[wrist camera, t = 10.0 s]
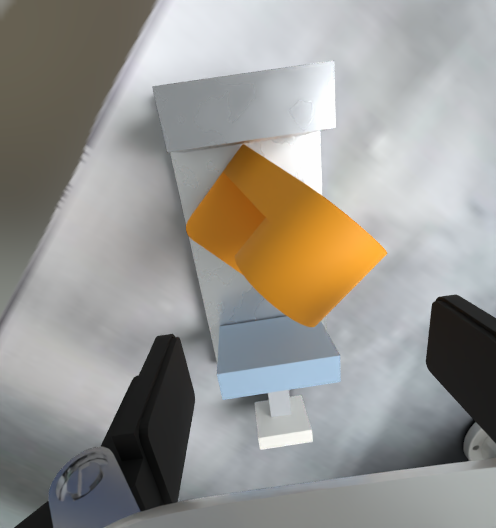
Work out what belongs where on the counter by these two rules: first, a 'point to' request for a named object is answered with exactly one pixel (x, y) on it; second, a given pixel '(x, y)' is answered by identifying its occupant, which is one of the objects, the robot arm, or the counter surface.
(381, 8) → the counter surface
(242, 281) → the vise
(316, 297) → the bracket
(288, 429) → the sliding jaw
